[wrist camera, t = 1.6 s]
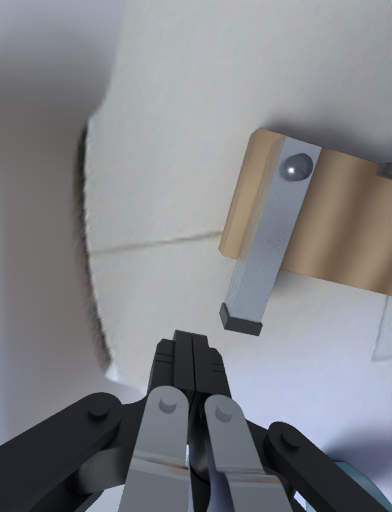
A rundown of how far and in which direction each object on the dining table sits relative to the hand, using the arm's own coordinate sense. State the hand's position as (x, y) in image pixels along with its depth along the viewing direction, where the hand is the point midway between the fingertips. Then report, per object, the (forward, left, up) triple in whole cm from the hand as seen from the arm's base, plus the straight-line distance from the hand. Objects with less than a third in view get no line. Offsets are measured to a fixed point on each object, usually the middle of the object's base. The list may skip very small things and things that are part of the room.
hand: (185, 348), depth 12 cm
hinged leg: (-7, -4, -13) cm, 15 cm away
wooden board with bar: (-16, -8, -16) cm, 24 cm away
